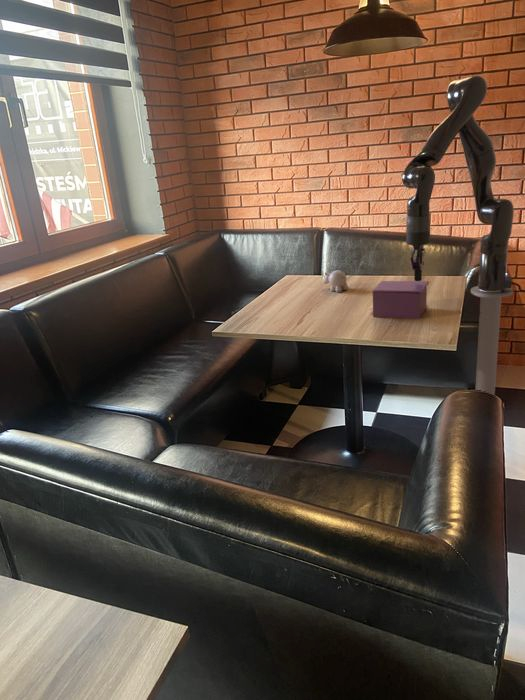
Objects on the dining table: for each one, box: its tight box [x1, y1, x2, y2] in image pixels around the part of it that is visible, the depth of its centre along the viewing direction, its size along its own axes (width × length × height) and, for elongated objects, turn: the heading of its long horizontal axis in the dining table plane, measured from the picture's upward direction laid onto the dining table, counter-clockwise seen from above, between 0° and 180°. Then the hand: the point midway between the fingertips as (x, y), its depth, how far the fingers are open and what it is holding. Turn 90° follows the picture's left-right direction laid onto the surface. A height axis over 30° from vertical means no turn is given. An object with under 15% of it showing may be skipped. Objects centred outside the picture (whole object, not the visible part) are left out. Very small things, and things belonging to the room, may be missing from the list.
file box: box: [372, 285, 428, 320], centre depth 185 cm, size 16×13×9 cm
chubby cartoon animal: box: [322, 269, 349, 293], centre depth 221 cm, size 7×12×8 cm, turn 36°
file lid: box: [372, 280, 430, 293], centre depth 183 cm, size 16×13×1 cm
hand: (418, 280), depth 182 cm, fingers closed
